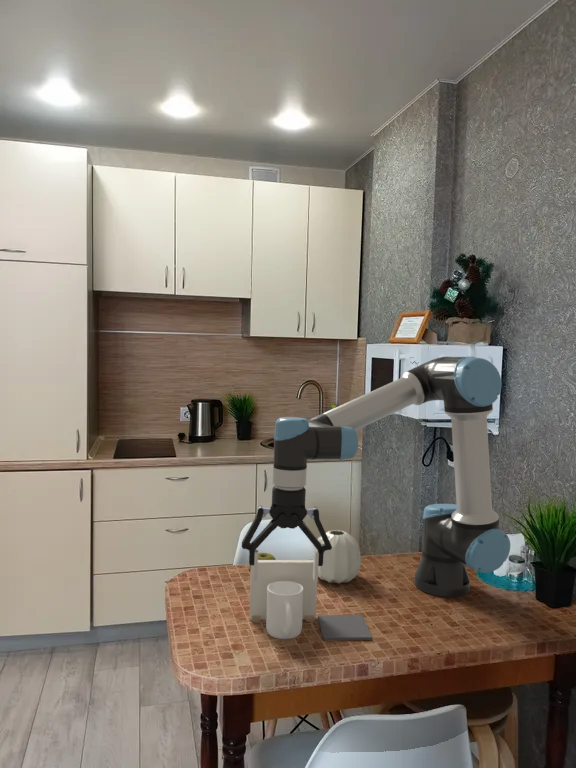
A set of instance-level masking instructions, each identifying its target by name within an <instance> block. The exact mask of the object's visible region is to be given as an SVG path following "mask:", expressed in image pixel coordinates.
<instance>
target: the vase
mask: <svg viewBox="0 0 576 768" xmlns="http://www.w3.org/2000/svg"><path fill="white" fill-rule="evenodd" d="M325 533H326V535H327V537H328V539H329V541H330V544H331V546H332V549H331V550H326V551H324V554H323V565H322V566H318V578H319V579H320V580H321V581H326V582H327V583H329V584H330V583H332V584H333V583H335V584H341V583H349V582H351V581H352V580H354V579H355V578H356V577H357V576H358V573H359V572H360V571H361V567H362V566H361V565H362V563H361V562H362V559H361V551H360V547H359V546H360V545H359V543H358V541H357V540H356V539H355V538H354V537H353V536H352V535H351V534H350V533H348V532H346V531H344V530H340V529H332V530H328V531H325ZM317 539H318V541H319V542H320V543H321V544H324V541H323V539H322V537H321V535H320V536H318V538H317ZM314 549H316V547H315V546H314V548H313V550H314ZM312 560H314V551H313V554H312Z"/></svg>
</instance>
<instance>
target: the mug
mask: <svg viewBox="0 0 576 768" xmlns="http://www.w3.org/2000/svg"><path fill="white" fill-rule="evenodd" d="M302 614H303V587H302V585H300V584H299V583H296V582H292V581H276V582H273V583H271V584H269V585H268V587H267V617H266V620H265V621H266V622H265V623H266V625H265V626H266V633H267V634H268V635H269V636H271V637H273V638H275V639H277V640H291V639H295V638H296V637H298V636H299V635H301V633H302V630H303V619H302Z"/></svg>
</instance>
